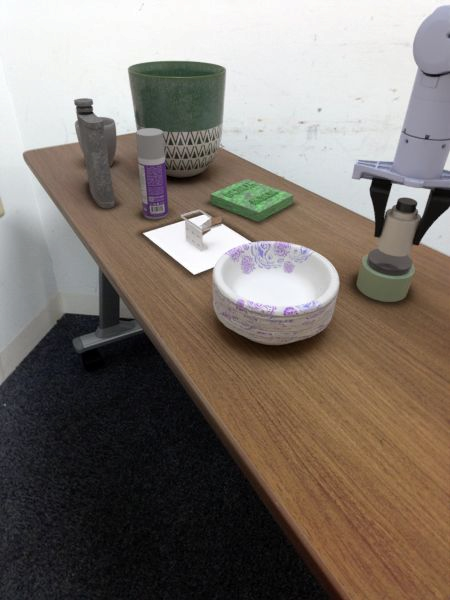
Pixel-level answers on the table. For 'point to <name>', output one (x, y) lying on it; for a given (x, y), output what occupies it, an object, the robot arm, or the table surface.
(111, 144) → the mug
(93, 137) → the flask
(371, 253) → the green jar
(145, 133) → the container
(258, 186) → the green jade tablet
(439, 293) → the table surface
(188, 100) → the planter
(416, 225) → the small bottle
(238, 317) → the paper bowls
